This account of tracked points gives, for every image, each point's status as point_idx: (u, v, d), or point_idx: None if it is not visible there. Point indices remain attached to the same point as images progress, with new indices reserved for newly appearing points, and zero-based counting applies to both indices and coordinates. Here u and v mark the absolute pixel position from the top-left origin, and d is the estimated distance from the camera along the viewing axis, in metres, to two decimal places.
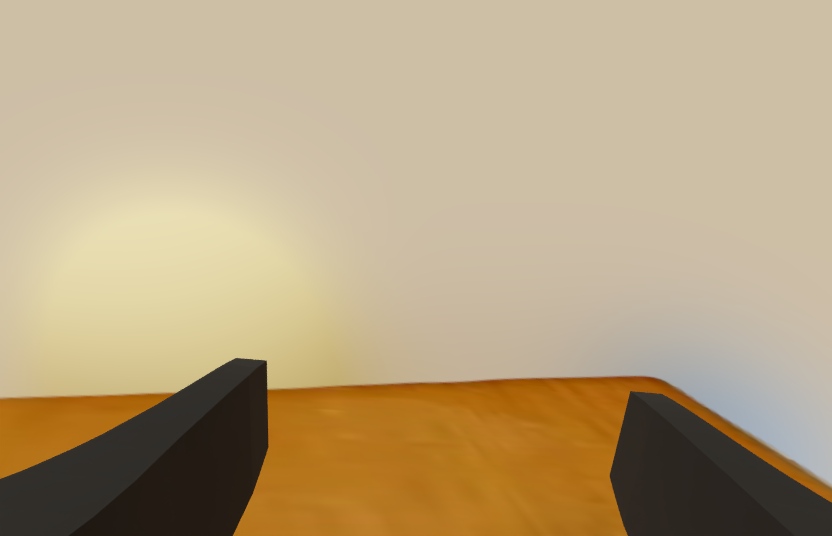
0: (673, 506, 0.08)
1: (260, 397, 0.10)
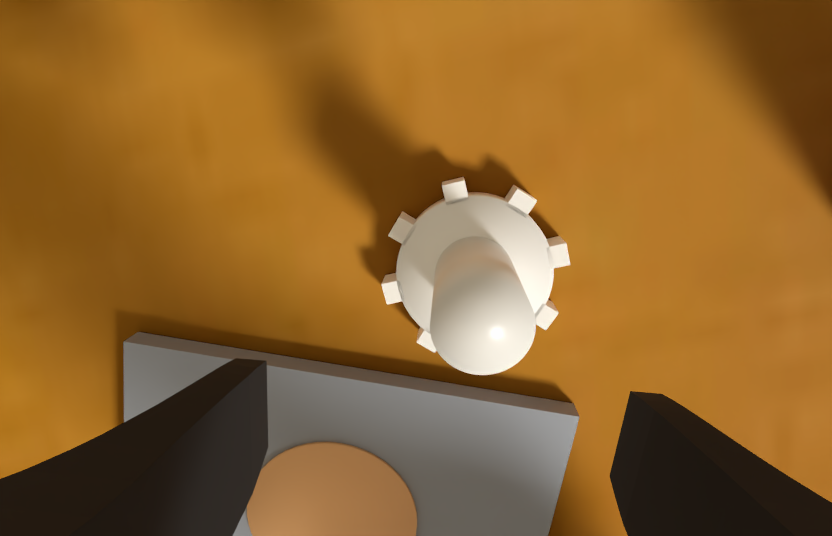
0: (673, 506, 0.08)
1: (260, 397, 0.10)
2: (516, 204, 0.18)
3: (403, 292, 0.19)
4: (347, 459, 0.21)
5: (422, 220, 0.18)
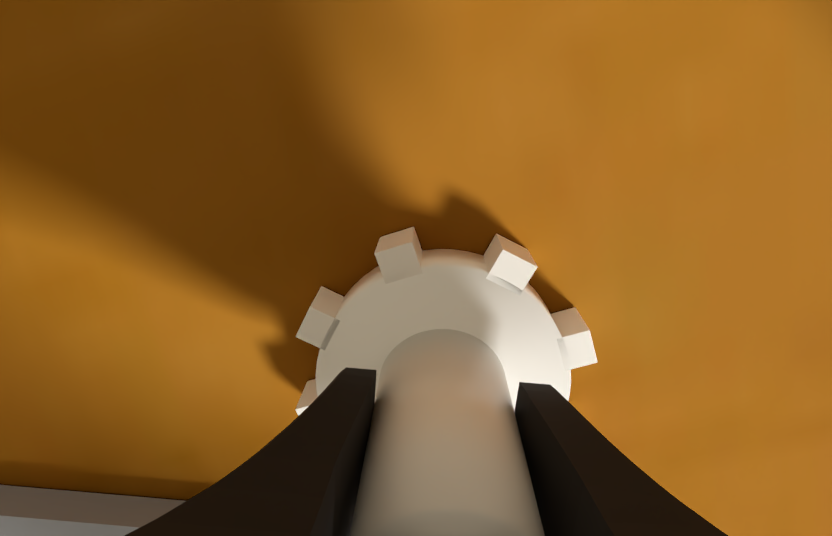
0: (539, 495, 0.08)
1: (372, 406, 0.10)
2: (502, 275, 0.11)
3: None
4: None
5: (348, 310, 0.11)
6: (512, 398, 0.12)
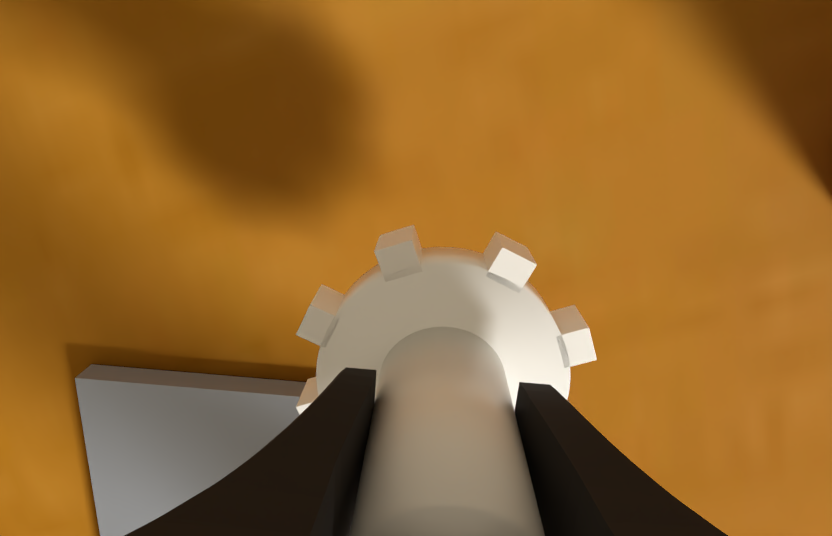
0: (539, 494, 0.08)
1: (372, 406, 0.10)
2: (502, 273, 0.11)
3: None
4: None
5: (348, 308, 0.11)
6: (512, 395, 0.12)
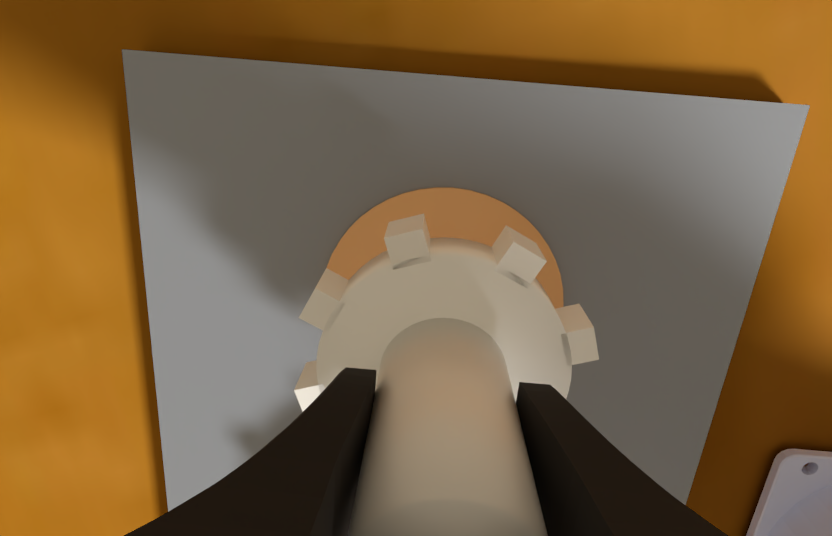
0: (539, 495, 0.08)
1: (372, 406, 0.10)
2: (511, 267, 0.11)
3: None
4: (464, 209, 0.15)
5: (354, 294, 0.11)
6: (512, 390, 0.12)
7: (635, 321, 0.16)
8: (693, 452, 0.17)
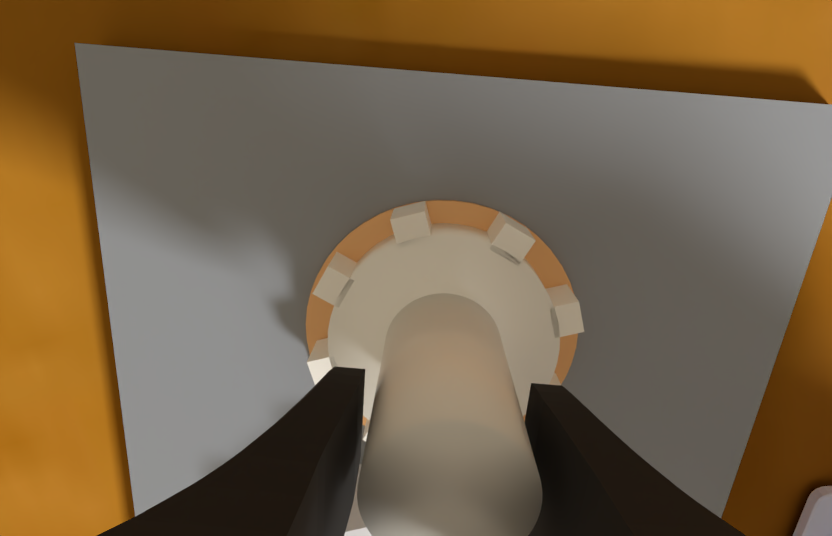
0: (553, 496, 0.08)
1: (361, 405, 0.10)
2: (504, 246, 0.12)
3: None
4: (466, 225, 0.13)
5: (362, 271, 0.12)
6: None
7: (658, 349, 0.14)
8: (720, 492, 0.16)
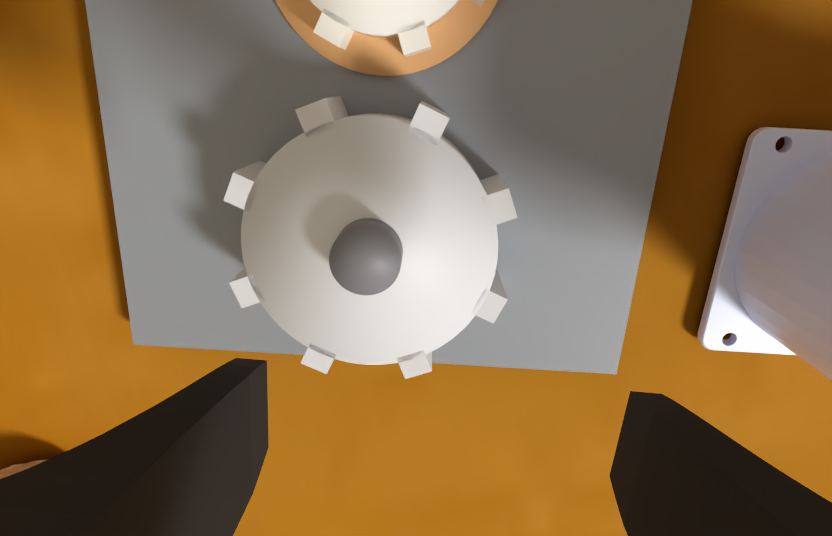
0: (673, 506, 0.08)
1: (260, 397, 0.10)
2: None
3: None
4: None
5: None
6: None
7: None
8: (659, 120, 0.16)
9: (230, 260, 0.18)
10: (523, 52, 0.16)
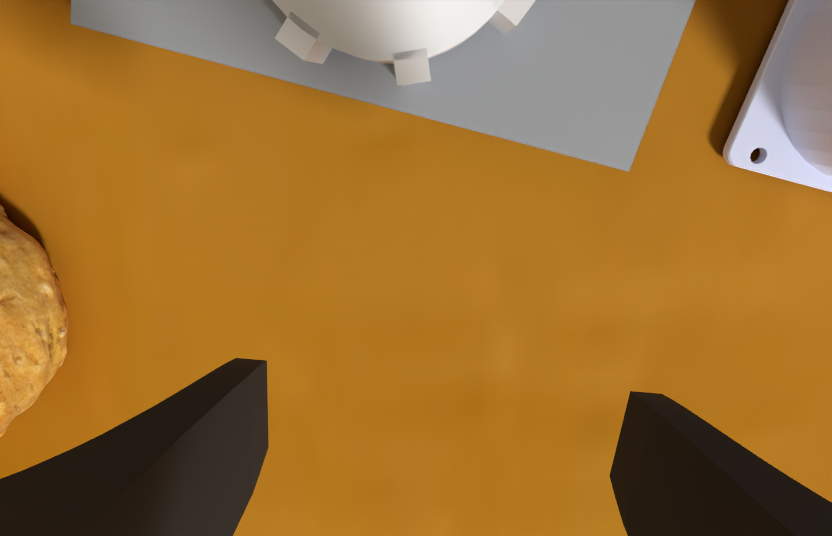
0: (673, 506, 0.08)
1: (260, 397, 0.10)
2: None
3: None
4: None
5: None
6: None
7: None
8: None
9: None
10: None
